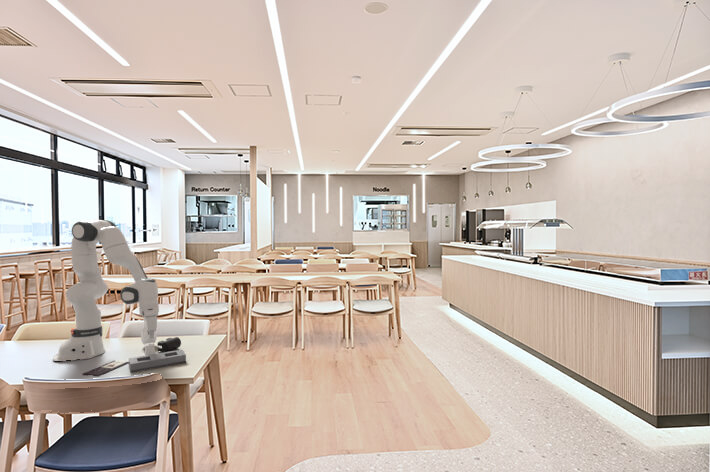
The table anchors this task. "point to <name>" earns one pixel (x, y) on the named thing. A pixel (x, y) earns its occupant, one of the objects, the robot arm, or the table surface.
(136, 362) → the power strip
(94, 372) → the chocolate bar
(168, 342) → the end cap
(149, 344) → the charger
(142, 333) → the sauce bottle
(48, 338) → the table surface
